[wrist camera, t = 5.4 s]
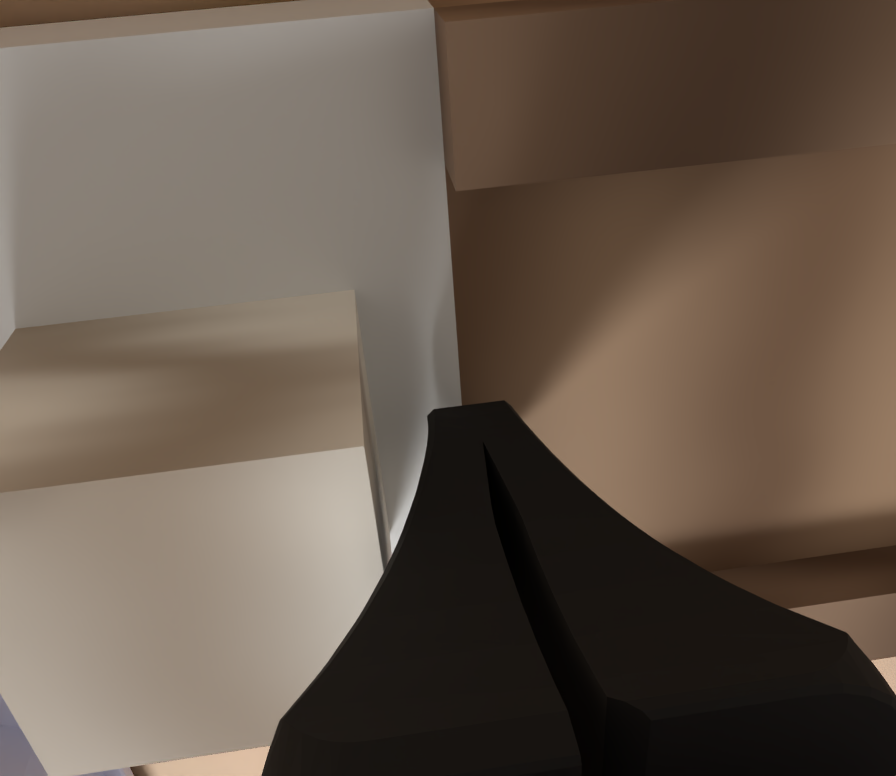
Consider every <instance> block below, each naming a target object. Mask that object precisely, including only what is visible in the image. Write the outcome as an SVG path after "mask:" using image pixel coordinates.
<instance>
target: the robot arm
mask: <svg viewBox="0 0 896 776" xmlns="http://www.w3.org/2000/svg"><path fill="white" fill-rule="evenodd" d="M427 421H428V439H427V447H426V452H425V458H424V463H423V467H422V471H421V475H420V478H419V482H418V486H417V490H416V493H415V497H414V500H413V502H412V505H411V508H410V511H409V514H408V516H407V519H406V522H405V525H404V528H403V530H402V533H401V535H400V538H399V540H398V542H397V545H396V547H395V549H394V552H393V554H392V556H391V558H390V560H389V562H388V564H387V566H386V568H385V570H384V572H383V574H382V576H381V578H380V580H379V582H378V584H377V585H376V587H375V589H374V591H373V593H372V595H371V596H370V598H369V600H368V602H367V604H366V605H365V607H364V609H363V610H362V612H361V614H360V615H359V617H358V618H357V620H356V622H355V623H354V625H353V626H352V628H351V629H350V630H349V632H348V633H347V635H346V636H345V638H344V639H343V641H342V642H341V643H340V645H339V646H338V648H337V649H336V651H335V652H334V653H333V655H332V656H331V658H330V659H329V661H328V662H327V663H326V665H325V666H324V667H323V669H322V670H321V671H320V673H319V674H318V675H317V676H316V678H315V679H314V680H313V681H312V682H311V684H310V685H309V686H308V687H307V688H306V689H305V691H304V692H303V693H302V694H301V695H300V697H299V698H298V699H297V700H296V701H295V703H294V704H293V705H292V706H291V707H290V709H289V710H288V711H287V712H286V713H285V714H284V716H283V717H282V718H281V719H280V721H279V723H278V726H277V729H276V731H275V734H274V737H273V740H272V743H271V746H270V749H269V752H268V755H267V759H266V762H265V766H264V769H263V772H262V776H896V695H895V693H894V692H893V690H892V689H891V688H890V686H889V685H888V683H887V682H886V680H885V679H884V677H883V676H882V675H881V673H880V672H879V671H878V669H877V668H876V667H875V665H874V664H873V663H872V662H871V660H870V659H869V658H868V657H867V656H866V655H865V654H864V652H863V651H862V650H861V649H860V648H859V647H858V646H857V644H856V643H855V642H854V641H853V639H852V638H851V637H850V635H849V634H848V633H847V632H844V631H842V630H839V629H837V628H834V627H832V626H829V625H827V624H824V623H822V622H819V621H817V620H814V619H811V618H809V617H806V616H804V615H801V614H799V613H796V612H794V611H791V610H789V609H786V608H784V607H781V606H779V605H776V604H774V603H772V602H770V601H767V600H765V599H763V598H761V597H759V596H757V595H755V594H753V593H751V592H748V591H746V590H744V589H742V588H740V587H738V586H736V585H734V584H732V583H730V582H728V581H726V580H724V579H722V578H720V577H718V576H716V575H714V574H713V573H711V572H709V571H707V570H705V569H703V568H702V567H700V566H698V565H697V564H695V563H693V562H691V561H690V560H688V559H686V558H685V557H683V556H681V555H679V554H678V553H676V552H674V551H673V550H671V549H669V548H668V547H666V546H665V545H663V544H661V543H660V542H658V541H657V540H655V539H654V538H652V537H651V536H649V535H648V534H647V533H645V532H644V531H642V530H641V529H640V528H638V527H637V526H635V525H634V524H633V523H631V522H630V521H629V520H627V519H626V518H625V517H623V516H622V515H621V514H620V513H618V512H617V511H616V510H615V509H613V508H612V507H611V506H610V505H608V504H607V503H606V502H605V501H604V500H602V499H601V498H600V497H599V496H598V495H597V494H595V493H594V492H593V491H592V490H591V489H590V488H589V487H587V486H586V485H585V484H584V483H583V482H582V481H581V480H580V479H579V478H578V477H576V476H575V475H574V474H573V473H572V472H571V471H570V470H569V469H568V468H567V467H566V466H565V465H564V464H563V463H562V462H561V461H560V460H559V459H558V458H557V457H556V456H555V455H554V454H553V453H552V452H551V451H550V450H549V449H548V448H547V447H546V446H545V444H544V443H543V442H542V441H541V440H540V439H539V438H538V437H537V436H536V435H535V434H534V432H533V431H532V430H531V429H530V428H529V427H528V426H527V424H526V423H525V422H524V421H523V420H522V418H521V417H520V416H519V415H518V414H517V412H516V411H515V410H514V409H513V407H512V406H511V405H510V404H509V403H507V402H506V401H505V400H502V401H494V402H486V403H478V404H470V405H462V406H454V407H446V408H439V409H433V410H432V411H431V412H430V413H429V414H428V415H427ZM0 776H48V774H47V773H46V771H45V769H44V767H43V766H42V764H41V762H40V761H39V759H38V757H37V755H36V754H35V752H34V750H33V749H32V747H31V745H30V743H29V742H28V740H27V738H26V737H25V735H24V733H23V731H22V730H21V728H20V726H19V725H18V723H17V721H16V720H15V718H14V716H13V714H12V713H11V711H10V709H9V708H8V706H7V704H6V702H5V701H4V699H3V697H2V696H1V694H0ZM75 776H134V775H133V773H132V771H131V769H130V767H127V768H121V769H114V770H108V771H101V772H95V773H88V774H82V775H75Z"/></svg>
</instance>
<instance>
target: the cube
mask: <svg viewBox="0 0 896 776" xmlns="http://www.w3.org/2000/svg"><path fill="white" fill-rule="evenodd" d="M391 556H392V552H391V541H390V532H389V525H388V518H387V511H386V504H385V497H384V490H383V483H382V476H381V470H380V463H379V456H378V449H377V442H376V435H375V428H374V421H373V414H372V407H371V400H370V393H369V387H368V380H367V373H366V366H365V359H364V352H363V345H362V338H361V331H360V324H359V317H358V310H357V303H356V297H355V290H347V291H338V292H329V293H321V294H312V295H303V296H295V297H286V298H277V299H269V300H260V301H251V302H243V303H234V304H226V305H217V306H208V307H200V308H191V309H182V310H174V311H165V312H156V313H148V314H139V315H130V316H122V317H113V318H104V319H96V320H87V321H79V322H70V323H61V324H53V325H44V326H35V327H27V328H18V329H15V330H14V332H13V333H12V334H11V336H10V337H9V339H8V340H7V342H6V343H5V344H4V346H3V347H2V349H1V350H0V694H1V696H2V697H3V699H4V701H5V702H6V704H7V706H8V708H9V709H10V711H11V713H12V714H13V716H14V718H15V720H16V721H17V723H18V725H19V726H20V728H21V730H22V731H23V733H24V735H25V737H26V738H27V740H28V742H29V743H30V745H31V747H32V749H33V750H34V752H35V754H36V755H37V757H38V759H39V761H40V762H41V764H42V766H43V767H44V769H45V771H46V773H47V774H48V776H75V775H82V774H88V773H95V772H101V771H108V770H114V769H121V768H127V767H134V766H140V765H147V764H153V763H160V762H167V761H173V760H180V759H186V758H193V757H199V756H206V755H212V754H219V753H225V752H232V751H238V750H245V749H252V748H258V747H265V746H271V743H272V740H273V737H274V734H275V731H276V729H277V726H278V723H279V721H280V719H281V718H282V717H283V716H284V714H285V713H286V712H287V711H288V710H289V709H290V707H291V706H292V705H293V704H294V703H295V701H296V700H297V699H298V698H299V697H300V695H301V694H302V693H303V692H304V691H305V689H306V688H307V687H308V686H309V685H310V684H311V682H312V681H313V680H314V679H315V678H316V676H317V675H318V674H319V673H320V671H321V670H322V669H323V667H324V666H325V665H326V663H327V662H328V661H329V659H330V658H331V656H332V655H333V653H334V652H335V651H336V649H337V648H338V646H339V645H340V643H341V642H342V641H343V639H344V638H345V636H346V635H347V633H348V632H349V630H350V629H351V628H352V626H353V625H354V623H355V622H356V620H357V618H358V617H359V615H360V614H361V612H362V610H363V609H364V607H365V605H366V604H367V602H368V600H369V598H370V596H371V595H372V593H373V591H374V589H375V587H376V585H377V584H378V582H379V580H380V578H381V576H382V574H383V572H384V570H385V568H386V566H387V564H388V562H389V560H390V558H391Z"/></svg>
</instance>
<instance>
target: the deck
mask: <svg viewBox="0 0 896 776" xmlns="http://www.w3.org/2000/svg"><path fill="white" fill-rule="evenodd" d="M347 290H355V297H356V303H357V310H358V317H359V324H360V331H361V338H362V345H363V352H364V359H365V366H366V373H367V380H368V387H369V393H370V400H371V407H372V414H373V421H374V428H375V435H376V442H377V449H378V456H379V463H380V470H381V476H382V483H383V490H384V497H385V504H386V511H387V518H388V525H389V532H390V541H391V552H392V554H393V552H394V549H395V547H396V545H397V542H398V540H399V538H400V535H401V533H402V530H403V528H404V525H405V522H406V519H407V516H408V514H409V511H410V508H411V505H412V502H413V500H414V497H415V493H416V490H417V486H418V482H419V478H420V475H421V471H422V467H423V463H424V458H425V452H426V447H427V439H428V421H427V415H428V414H429V413H430V412H431V411H432V410H433V409H439V408H446V407H454V406H462V405H470V404H478V403H486V402H494V401H502V400H505V401H506V402H507V403H509V404H510V405H511V406H512V407H513V409H514V410H515V411H516V412H517V414H518V415H519V416H520V417H521V418H522V420H523V421H524V422H525V423H526V424H527V426H528V427H529V428H530V429H531V430H532V431H533V432H534V434H535V435H536V436H537V437H538V438H539V439H540V440H541V441H542V442H543V443H544V444H545V446H546V447H547V448H548V449H549V450H550V451H551V452H552V453H553V454H554V455H555V456H556V457H557V458H558V459H559V460H560V461H561V462H562V463H563V464H564V465H565V466H566V467H567V468H568V469H569V470H570V471H571V472H572V473H573V474H574V475H575V476H576V477H578V478H579V479H580V480H581V481H582V482H583V483H584V484H585V485H586V486H587V487H589V488H590V489H591V490H592V491H593V492H594V493H595V494H597V495H598V496H599V497H600V498H601V499H602V500H604V501H605V502H606V503H607V504H608V505H610V506H611V507H612V508H613V509H615V510H616V511H617V512H618V513H620V514H621V515H622V516H623V517H625V518H626V519H627V520H629V521H630V522H631V523H633V524H634V525H635V526H637V527H638V528H640V529H641V530H642V531H644V532H645V533H647V534H648V535H649V536H651V537H652V538H654V539H655V540H657V541H658V542H660V543H661V544H663V545H665V546H666V547H668V548H669V549H671V550H673V551H674V552H676V553H678V554H679V555H681V556H683V557H685V558H686V559H688V560H690V561H691V562H693V563H695V564H697V565H698V566H700V567H702V568H703V569H705V570H707V571H709V572H711V573H713V574H714V575H716V576H718V577H720V578H722V579H724V580H726V581H728V582H730V583H732V584H734V585H736V586H738V587H740V588H742V589H744V590H746V591H748V592H751V593H753V594H755V595H757V596H759V597H761V598H763V599H765V600H767V601H770V602H772V603H774V604H776V605H779V606H781V607H784V608H786V609H789V610H791V611H794V612H796V613H799V614H801V615H804V616H806V617H809V618H811V619H814V620H817V621H819V622H822V623H824V624H827V625H829V626H832V627H834V628H837V629H839V630H842V631H844V632H847V633H848V634H849V635H850V637H851V638H852V639H853V641H854V642H855V643H856V644H857V646H858V647H859V648H860V649H861V650H862V651H863V652H864V654H865V655H866V656H867V657H868V658H869V659H870V660H876V659H883V658H889V657H896V0H300V1H289V2H278V3H267V4H256V5H245V6H234V7H223V8H212V9H201V10H190V11H179V12H168V13H157V14H146V15H135V16H124V17H113V18H102V19H91V20H80V21H69V22H58V23H47V24H36V25H25V26H14V27H3V28H0V350H1V349H2V347H3V346H4V344H5V343H6V342H7V340H8V339H9V337H10V336H11V334H12V333H13V332H14V330H15V329H18V328H27V327H35V326H44V325H53V324H61V323H70V322H79V321H87V320H96V319H104V318H113V317H122V316H130V315H139V314H148V313H156V312H165V311H174V310H182V309H191V308H200V307H208V306H217V305H226V304H234V303H243V302H251V301H260V300H269V299H277V298H286V297H295V296H303V295H312V294H321V293H329V292H338V291H347Z"/></svg>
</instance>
